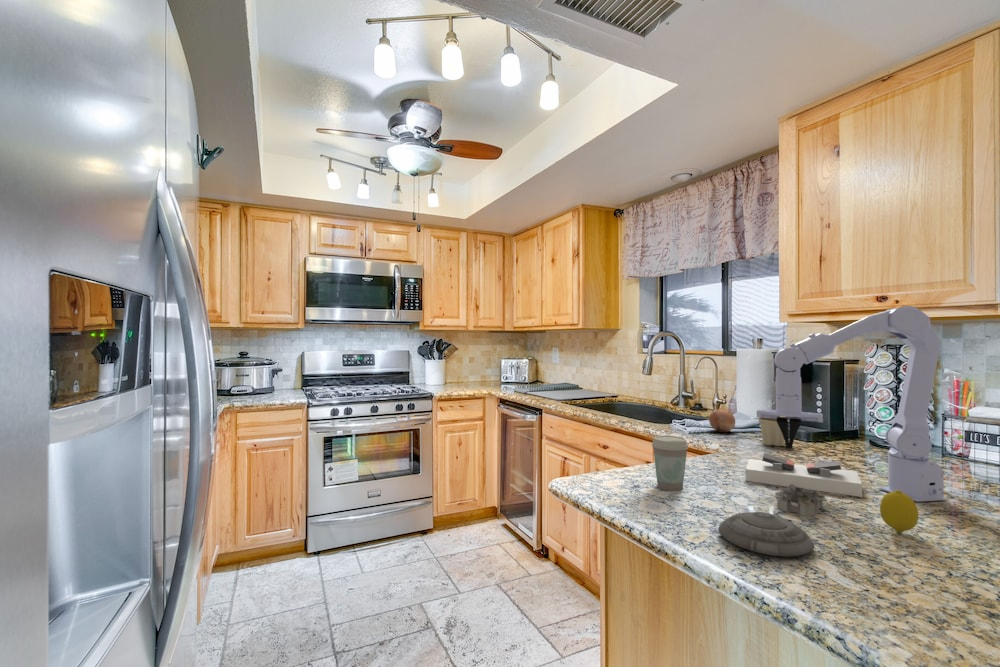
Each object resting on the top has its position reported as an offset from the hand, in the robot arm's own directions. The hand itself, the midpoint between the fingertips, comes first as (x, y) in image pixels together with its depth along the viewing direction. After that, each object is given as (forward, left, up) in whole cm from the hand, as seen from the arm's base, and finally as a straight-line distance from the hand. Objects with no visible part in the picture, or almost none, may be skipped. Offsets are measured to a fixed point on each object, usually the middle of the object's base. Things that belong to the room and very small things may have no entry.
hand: (789, 447), depth 122 cm
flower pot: (+38, -26, -9) cm, 47 cm away
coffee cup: (-1, +33, -9) cm, 34 cm away
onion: (+61, -22, -9) cm, 66 cm away
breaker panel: (-2, -2, -8) cm, 9 cm away
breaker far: (+2, +2, -4) cm, 5 cm away
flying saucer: (-33, +32, -9) cm, 47 cm away
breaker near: (-5, -6, -4) cm, 9 cm away
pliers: (+10, -20, -9) cm, 24 cm away
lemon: (-33, +4, -9) cm, 34 cm away
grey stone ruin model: (-18, +12, -9) cm, 23 cm away
